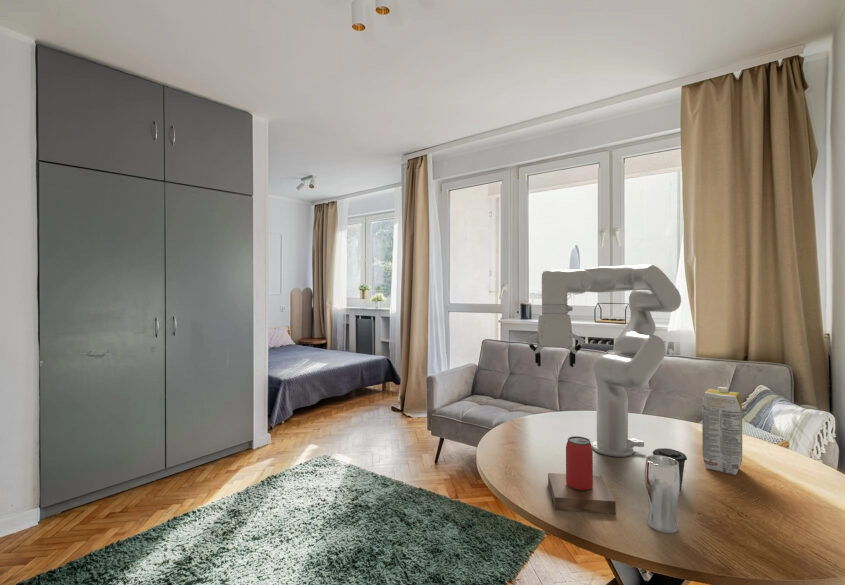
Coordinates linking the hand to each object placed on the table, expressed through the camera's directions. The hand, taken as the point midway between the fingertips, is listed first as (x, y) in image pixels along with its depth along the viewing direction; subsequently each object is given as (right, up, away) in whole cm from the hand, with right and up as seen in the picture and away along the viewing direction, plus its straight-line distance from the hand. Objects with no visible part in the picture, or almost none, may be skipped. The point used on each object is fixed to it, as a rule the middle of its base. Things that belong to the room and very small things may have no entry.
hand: (555, 365), depth 132 cm
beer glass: (+14, -31, -34) cm, 48 cm away
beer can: (0, -28, -21) cm, 35 cm away
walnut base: (0, -31, -21) cm, 37 cm away
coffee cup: (+26, -30, -16) cm, 43 cm away
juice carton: (+48, -30, -5) cm, 57 cm away
